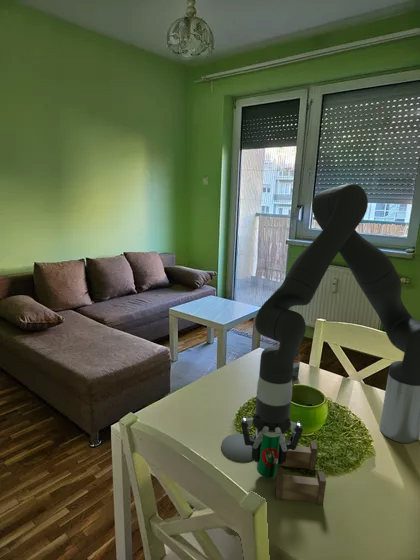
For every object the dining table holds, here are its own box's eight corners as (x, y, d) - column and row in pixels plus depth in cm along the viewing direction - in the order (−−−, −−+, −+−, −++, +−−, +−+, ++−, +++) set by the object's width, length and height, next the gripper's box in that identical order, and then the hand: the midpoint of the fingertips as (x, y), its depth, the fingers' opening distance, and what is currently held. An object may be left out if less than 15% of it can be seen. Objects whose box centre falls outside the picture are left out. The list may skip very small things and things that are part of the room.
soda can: (263, 460, 88) (267, 416, 85) (282, 470, 84) (286, 425, 82) (252, 472, 84) (255, 426, 81) (271, 483, 81) (275, 436, 78)
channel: (312, 462, 90) (315, 441, 88) (323, 505, 77) (326, 481, 76) (272, 458, 91) (274, 437, 89) (275, 499, 78) (278, 476, 77)
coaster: (259, 437, 98) (259, 435, 98) (260, 463, 89) (260, 461, 88) (222, 433, 99) (222, 432, 99) (219, 459, 90) (220, 457, 89)
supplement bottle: (278, 373, 134) (281, 345, 131) (292, 372, 136) (295, 344, 133) (286, 381, 128) (289, 352, 126) (301, 379, 130) (304, 350, 127)
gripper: (304, 388, 83) (297, 452, 86) (241, 383, 84) (237, 446, 88) (309, 407, 75) (302, 476, 79) (240, 401, 77) (236, 469, 80)
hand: (268, 460), depth 83 cm, fingers closed on soda can, 5 cm apart
